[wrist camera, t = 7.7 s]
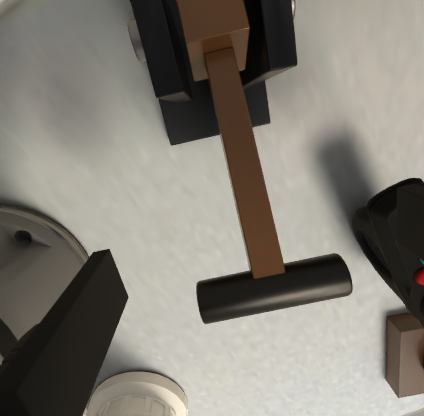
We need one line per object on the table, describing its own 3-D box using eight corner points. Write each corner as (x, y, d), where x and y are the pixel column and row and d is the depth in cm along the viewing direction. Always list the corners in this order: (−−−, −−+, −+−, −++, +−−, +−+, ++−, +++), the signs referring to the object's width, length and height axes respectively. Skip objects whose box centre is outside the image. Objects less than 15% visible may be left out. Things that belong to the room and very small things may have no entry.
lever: (334, 286, 10) (365, 304, 8) (207, 312, 11) (201, 337, 8) (263, 0, 11) (272, -60, 9) (149, 29, 12) (129, -23, 9)
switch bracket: (267, 122, 22) (345, 138, 10) (172, 143, 22) (139, 184, 10) (246, -26, 19) (328, -270, 7) (135, 2, 19) (20, -183, 7)
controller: (367, 279, 28) (452, 366, 18) (320, 179, 24) (396, 225, 15) (407, 259, 27) (516, 339, 18) (366, 154, 23) (476, 184, 14)
